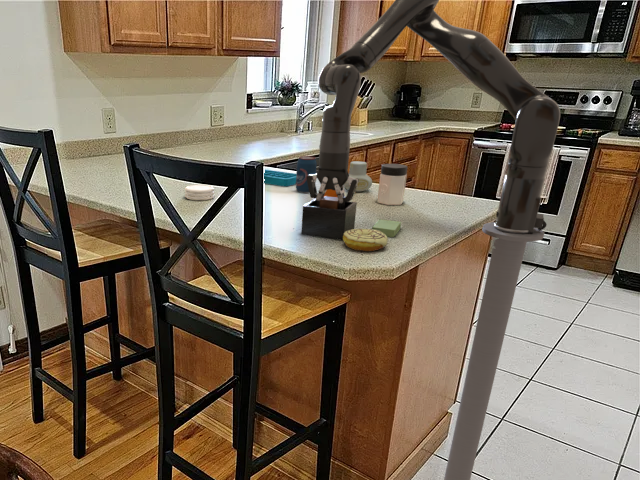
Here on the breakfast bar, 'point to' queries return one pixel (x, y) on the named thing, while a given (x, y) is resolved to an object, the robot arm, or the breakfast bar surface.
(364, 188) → the air freshener
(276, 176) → the ice cube tray
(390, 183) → the jar
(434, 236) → the breakfast bar surface
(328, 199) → the block
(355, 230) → the decorated donut
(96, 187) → the breakfast bar surface
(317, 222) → the black open box
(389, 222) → the sponge
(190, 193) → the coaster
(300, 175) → the soda can
